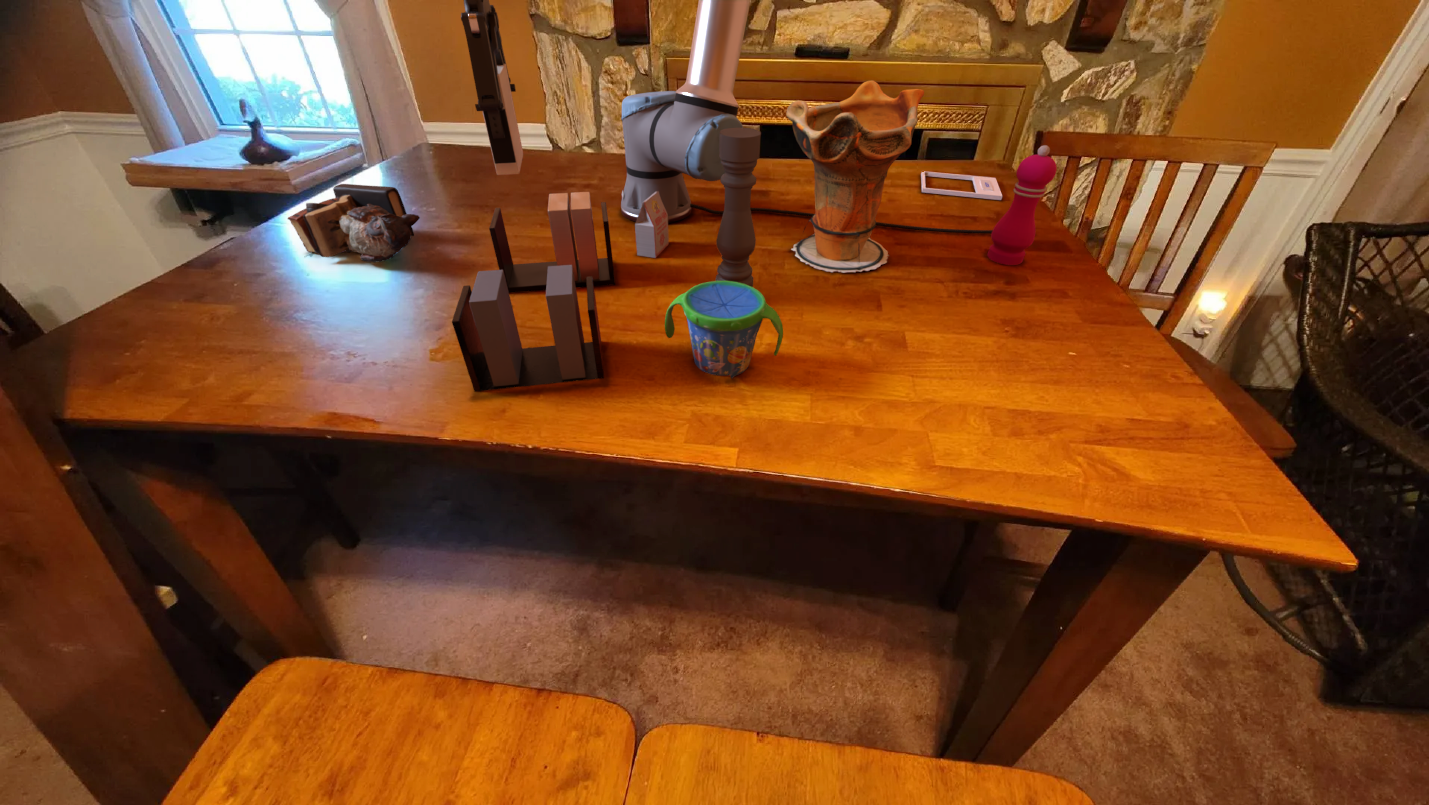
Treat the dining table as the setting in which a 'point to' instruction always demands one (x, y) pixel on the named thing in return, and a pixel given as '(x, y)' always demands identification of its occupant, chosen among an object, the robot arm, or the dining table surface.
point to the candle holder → (737, 203)
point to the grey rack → (524, 350)
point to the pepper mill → (1022, 209)
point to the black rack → (559, 246)
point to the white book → (512, 122)
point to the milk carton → (652, 227)
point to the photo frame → (982, 185)
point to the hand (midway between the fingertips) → (508, 151)
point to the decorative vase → (851, 171)
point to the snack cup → (723, 324)
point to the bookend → (356, 223)
